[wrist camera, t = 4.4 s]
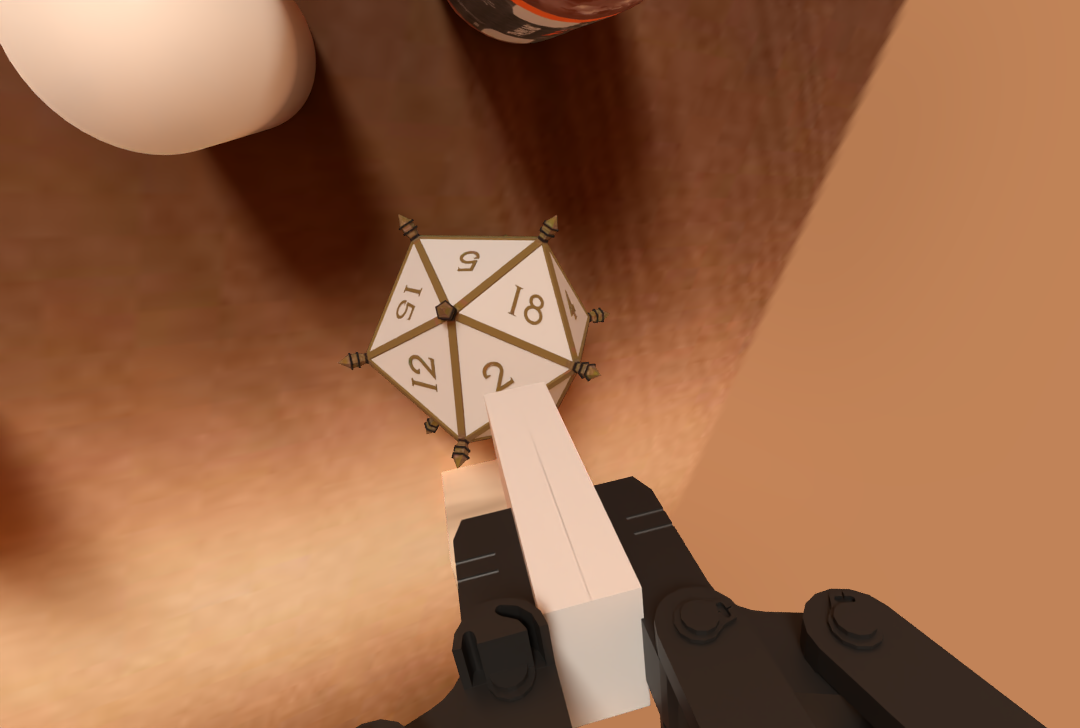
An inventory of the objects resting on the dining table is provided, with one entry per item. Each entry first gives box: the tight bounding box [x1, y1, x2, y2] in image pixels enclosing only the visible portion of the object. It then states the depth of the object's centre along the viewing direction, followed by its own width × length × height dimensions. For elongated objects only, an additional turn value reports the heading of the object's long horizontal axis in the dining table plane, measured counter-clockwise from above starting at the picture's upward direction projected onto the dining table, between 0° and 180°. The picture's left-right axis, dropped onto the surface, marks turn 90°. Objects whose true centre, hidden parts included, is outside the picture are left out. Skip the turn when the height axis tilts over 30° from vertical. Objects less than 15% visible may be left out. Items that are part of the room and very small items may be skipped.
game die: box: [339, 214, 609, 469], centre depth 21 cm, size 9×8×10 cm
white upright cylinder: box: [0, 0, 316, 155], centre depth 15 cm, size 5×5×8 cm
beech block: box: [441, 459, 508, 588], centre depth 27 cm, size 6×6×6 cm
